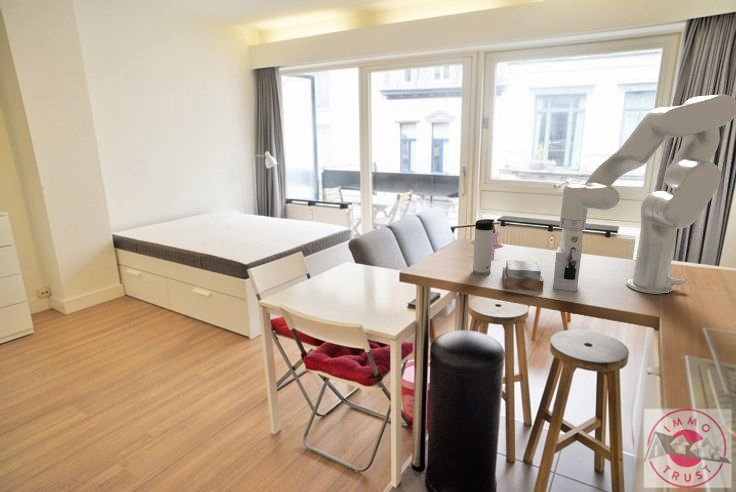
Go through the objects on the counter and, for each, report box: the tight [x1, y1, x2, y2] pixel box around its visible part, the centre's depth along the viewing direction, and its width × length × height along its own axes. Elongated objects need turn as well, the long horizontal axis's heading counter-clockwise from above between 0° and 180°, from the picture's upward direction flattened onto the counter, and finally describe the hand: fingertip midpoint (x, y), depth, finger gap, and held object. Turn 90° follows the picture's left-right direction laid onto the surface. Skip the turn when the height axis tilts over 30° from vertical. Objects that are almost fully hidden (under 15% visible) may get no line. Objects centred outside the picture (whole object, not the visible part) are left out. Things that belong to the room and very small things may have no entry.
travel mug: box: [472, 218, 496, 276], centre depth 155 cm, size 6×7×20 cm
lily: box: [470, 231, 504, 260], centre depth 178 cm, size 12×12×10 cm
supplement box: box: [552, 246, 582, 292], centre depth 141 cm, size 7×7×13 cm
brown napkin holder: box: [501, 259, 544, 292], centre depth 146 cm, size 12×12×6 cm
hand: (566, 274), depth 142 cm, fingers closed on supplement box, 8 cm apart
